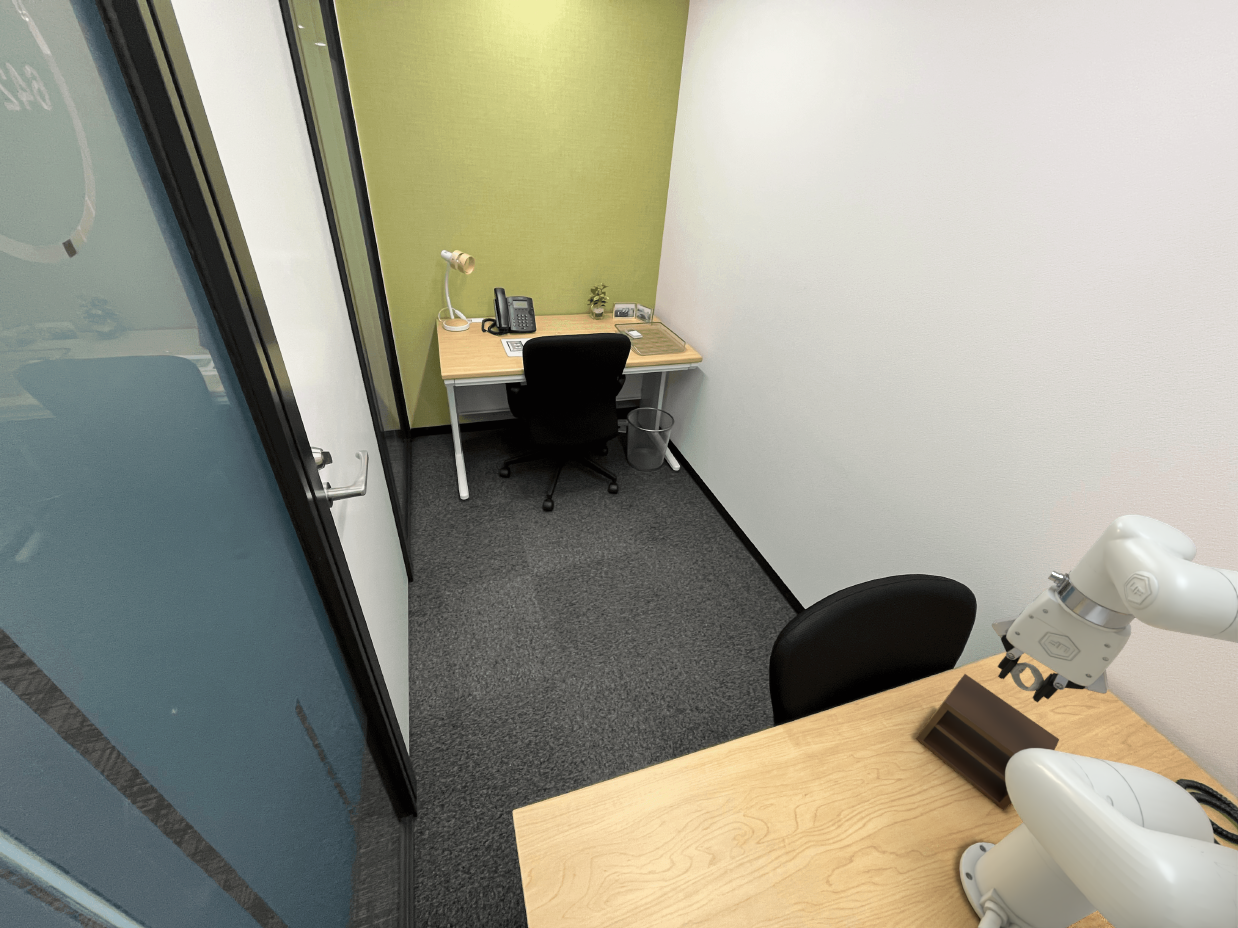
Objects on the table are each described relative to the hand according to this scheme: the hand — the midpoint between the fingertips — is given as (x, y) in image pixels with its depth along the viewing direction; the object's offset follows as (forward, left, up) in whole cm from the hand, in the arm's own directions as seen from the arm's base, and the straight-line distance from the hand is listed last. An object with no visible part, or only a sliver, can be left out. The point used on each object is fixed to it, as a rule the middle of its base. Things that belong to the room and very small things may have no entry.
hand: (1020, 683), depth 74 cm
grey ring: (0, 0, 0) cm, 0 cm away
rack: (+3, -1, -22) cm, 22 cm away
